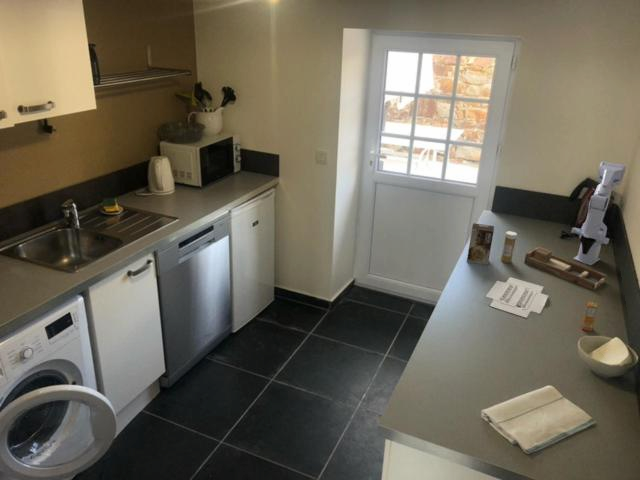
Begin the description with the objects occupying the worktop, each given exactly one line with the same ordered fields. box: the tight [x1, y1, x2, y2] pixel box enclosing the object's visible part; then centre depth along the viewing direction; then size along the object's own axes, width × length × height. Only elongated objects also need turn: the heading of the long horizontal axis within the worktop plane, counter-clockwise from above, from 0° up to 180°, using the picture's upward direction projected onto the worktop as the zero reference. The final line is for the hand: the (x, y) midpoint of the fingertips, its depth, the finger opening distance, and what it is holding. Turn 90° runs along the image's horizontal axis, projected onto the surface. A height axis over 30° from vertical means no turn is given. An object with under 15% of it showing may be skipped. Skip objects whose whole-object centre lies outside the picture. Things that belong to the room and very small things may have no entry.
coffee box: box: [466, 223, 495, 266], centre depth 231 cm, size 9×6×16 cm
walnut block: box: [534, 247, 553, 263], centre depth 232 cm, size 5×5×4 cm
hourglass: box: [581, 301, 598, 332], centre depth 186 cm, size 3×3×10 cm
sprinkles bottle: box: [500, 230, 518, 264], centre depth 232 cm, size 5×5×13 cm
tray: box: [485, 277, 550, 319], centre depth 206 cm, size 20×28×4 cm
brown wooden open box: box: [523, 246, 607, 291], centre depth 226 cm, size 11×30×4 cm, turn 42°
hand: (584, 253), depth 223 cm, fingers closed
